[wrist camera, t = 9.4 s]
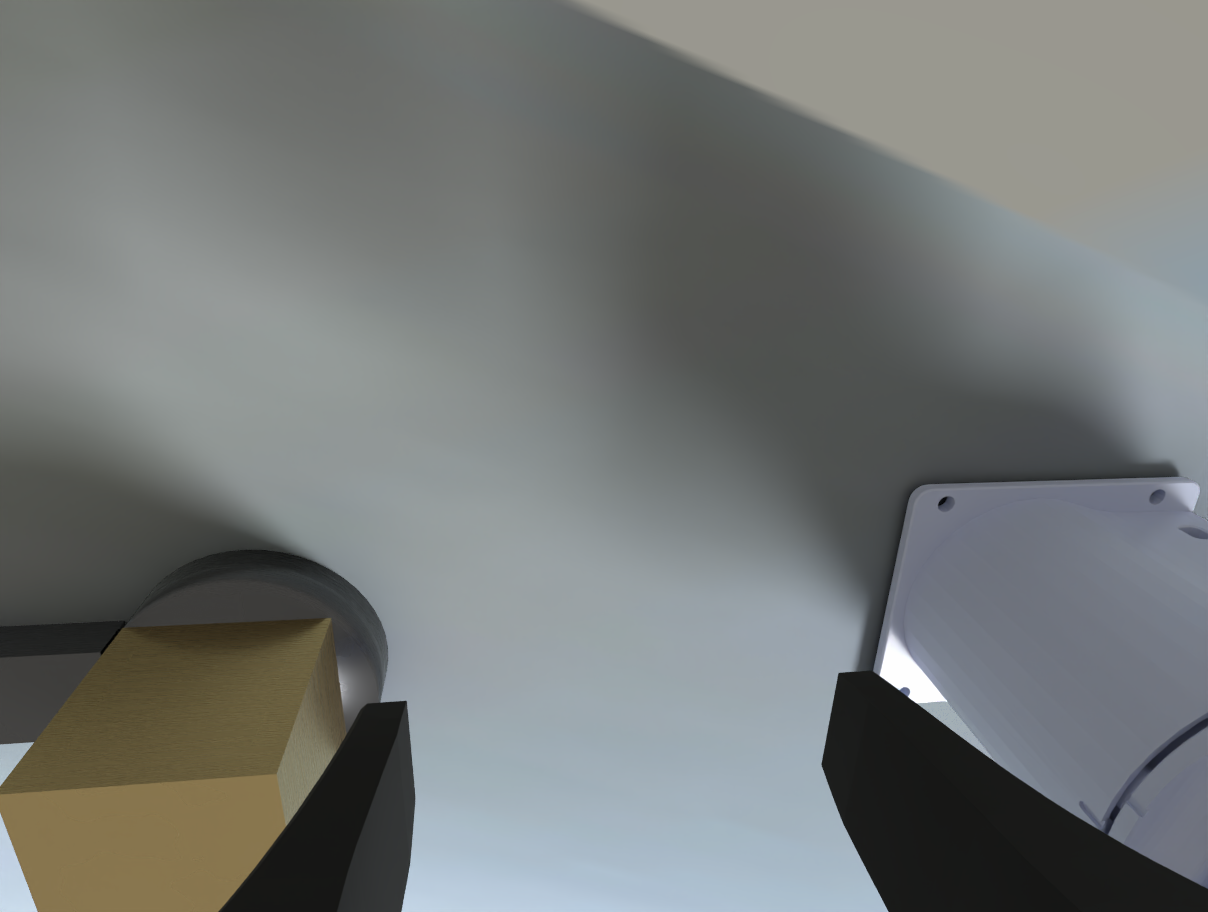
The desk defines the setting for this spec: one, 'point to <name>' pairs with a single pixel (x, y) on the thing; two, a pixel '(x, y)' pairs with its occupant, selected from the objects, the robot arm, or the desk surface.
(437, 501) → the desk surface
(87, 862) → the brushed gold cube
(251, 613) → the ratchet
